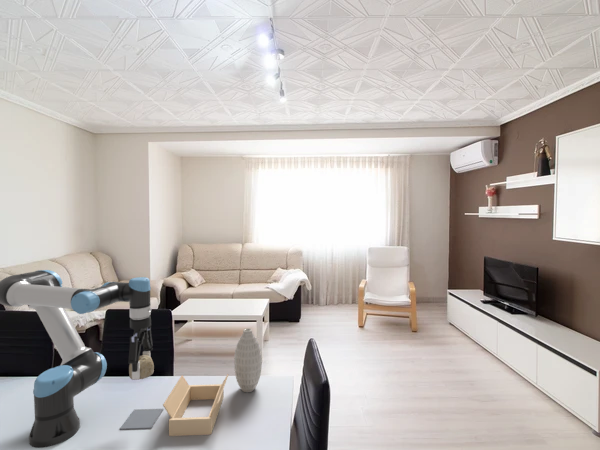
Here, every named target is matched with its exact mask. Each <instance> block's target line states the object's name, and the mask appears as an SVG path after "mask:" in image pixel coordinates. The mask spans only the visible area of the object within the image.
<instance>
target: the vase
mask: <svg viewBox="0 0 600 450" xmlns="http://www.w3.org/2000/svg"><path fill="white" fill-rule="evenodd" d="M262 358H263V357H262V352H261V346H260V343H259V341H258V339H257V337H256V336H255V335H254V333H253V329H252V328H244V329H243V332H242V334H241V335H240V337H239V339H238V341H237V344H236V347H235V350H234V357H233V359H234V360H233V363H234V365H233V368H234V369H233V370H234V374H235V375H234V376H235V379H236V382H237V384H238V386H239V388H240V389H241V391H242V392H243V393H251V392H254V390H255V389H256V388H257V385H258V384H259V382H260V378H261V375H262V374H261V373H262V367H263V366H262V363H263V362H262Z"/></svg>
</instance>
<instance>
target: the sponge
mask: <svg viewBox="0 0 600 450" xmlns="http://www.w3.org/2000/svg"><path fill="white" fill-rule="evenodd" d="M138 362H140V379H132V364H129V365H128V374H129V379H131V380H132V381H133V380H134V381H137V380H145V379H148V378H149V377H150V376H152V375H153V374H154V371H155V370H154V369H155V365H154V361H153V359H152V357H151V356H150V357H149V356H147V355H143V354H142V355H139V361H138Z"/></svg>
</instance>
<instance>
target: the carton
mask: <svg viewBox="0 0 600 450" xmlns="http://www.w3.org/2000/svg"><path fill="white" fill-rule="evenodd" d="M229 375H230V374H229V373H227V374H226V376H225V378H224V380H223V382H222V383H219V384H218V383H217V384H213V383H212V384H188V381H187V380H186V378H185V377H184V375H180V378H179V379H178V380H177V382H176V384H175V385H174V387H173V389H172V390H171V392H170V393H169V394H168V396H167V398H166V399H165V401H164V403H162V406H163V409H164V410H165V411H166V412H167V414H168V416H169V419H168V435H169V437H179V436H180V437H182V436H205V435H206V436H207V435H208V436H209V435H212V433H213V429H214V427H215V425H216V421H217V417H218V416H219V412H220V409H221V406H222V404H223V403H222V402H223V400H224V396H225V395H224V388H225V385H226V383H227V381H228V377H229ZM196 400H198V401H200V400H202V401H203V400H214V401H213V403H212V406H211V409H210V412H209V414H208V416H199V417H198V416H197V417H195V416H194V417H193V416H192V417H184V414H185V413H186V410H187V408H188V407H189V404H190V403H191V401H196Z"/></svg>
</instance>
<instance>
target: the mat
mask: <svg viewBox="0 0 600 450" xmlns="http://www.w3.org/2000/svg"><path fill="white" fill-rule="evenodd" d="M163 411H164V408H141V409H137V408H136V409H133V411H131V413H130V415H129V416H128V417H127V418H126V419H125V421H124V422H123V423H122V425H121V426H120V427H119V430H120V431H121V430H122V431H123V430H124V431H125V430H145V429H148V430H149V429H152V428H153V427H154V425H155V424H156V422H157V420H158V419H159V417H160V416H161V414H162V413H163Z"/></svg>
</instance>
